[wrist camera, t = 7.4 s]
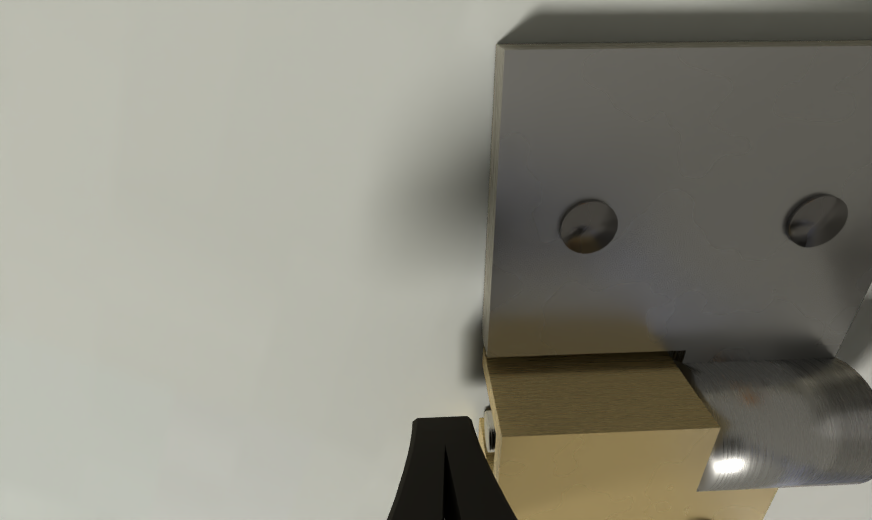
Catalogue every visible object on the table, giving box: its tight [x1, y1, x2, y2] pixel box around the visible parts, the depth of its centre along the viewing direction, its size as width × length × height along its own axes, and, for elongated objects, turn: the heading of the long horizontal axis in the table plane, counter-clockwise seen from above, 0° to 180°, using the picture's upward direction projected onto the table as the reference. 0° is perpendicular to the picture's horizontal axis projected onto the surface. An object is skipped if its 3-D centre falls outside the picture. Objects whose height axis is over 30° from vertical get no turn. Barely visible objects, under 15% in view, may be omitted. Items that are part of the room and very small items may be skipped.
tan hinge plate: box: [478, 346, 778, 520], centre depth 14 cm, size 10×9×3 cm
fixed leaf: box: [482, 40, 872, 492], centre depth 11 cm, size 10×9×3 cm
